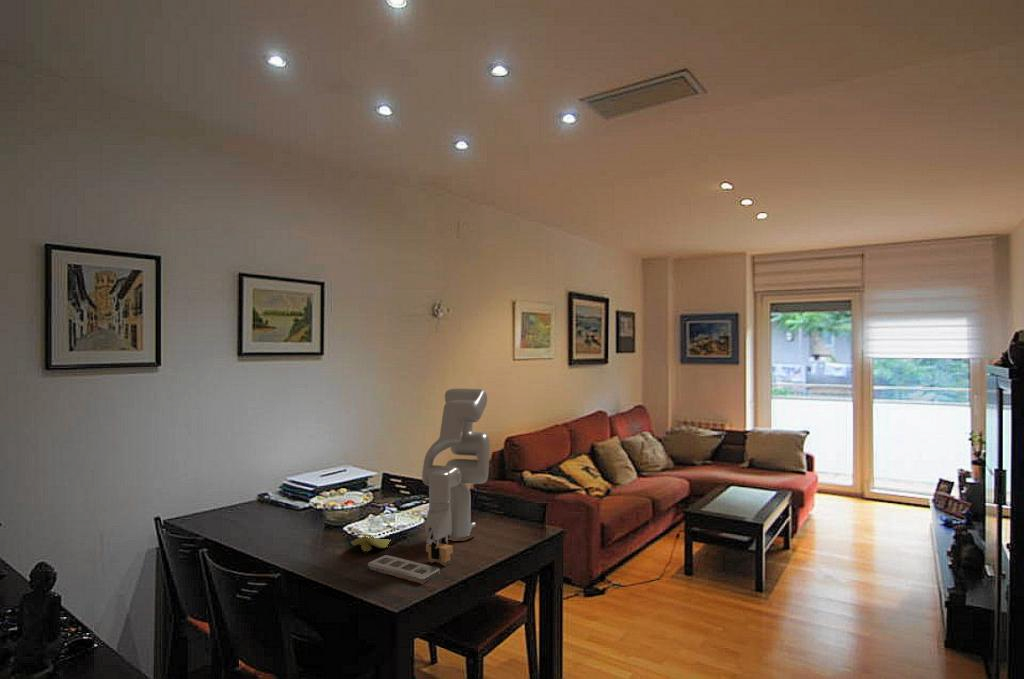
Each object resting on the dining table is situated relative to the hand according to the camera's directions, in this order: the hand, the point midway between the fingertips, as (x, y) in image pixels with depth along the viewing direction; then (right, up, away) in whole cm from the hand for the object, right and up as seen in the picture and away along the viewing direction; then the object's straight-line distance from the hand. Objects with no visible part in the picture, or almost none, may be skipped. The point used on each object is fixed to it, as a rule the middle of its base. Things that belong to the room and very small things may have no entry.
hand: (439, 556), depth 216 cm
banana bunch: (-28, -3, +17) cm, 32 cm away
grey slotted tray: (-11, -2, -9) cm, 14 cm away
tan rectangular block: (0, -2, 0) cm, 2 cm away
